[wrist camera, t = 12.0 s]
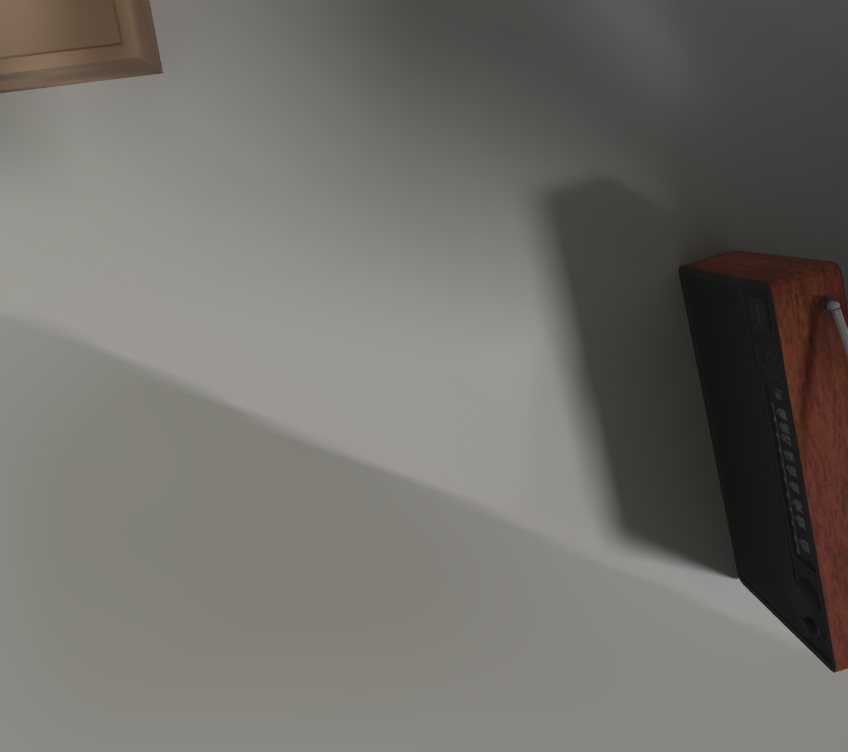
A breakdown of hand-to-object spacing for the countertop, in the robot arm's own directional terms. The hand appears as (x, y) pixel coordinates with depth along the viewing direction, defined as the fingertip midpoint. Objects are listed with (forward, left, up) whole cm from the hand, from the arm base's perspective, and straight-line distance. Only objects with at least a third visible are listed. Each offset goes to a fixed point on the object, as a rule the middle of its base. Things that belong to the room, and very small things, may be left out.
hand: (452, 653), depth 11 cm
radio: (-16, +7, -26) cm, 32 cm away
